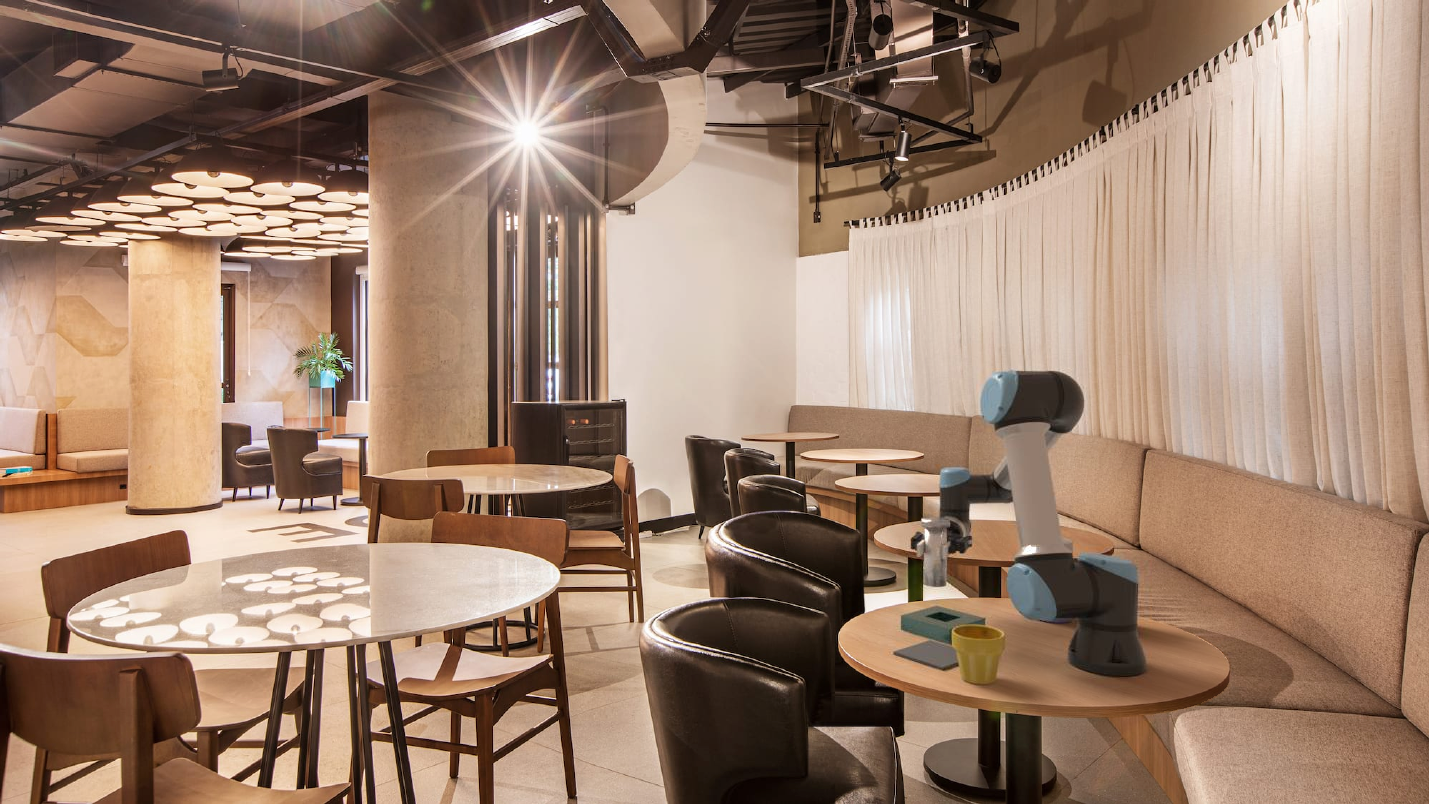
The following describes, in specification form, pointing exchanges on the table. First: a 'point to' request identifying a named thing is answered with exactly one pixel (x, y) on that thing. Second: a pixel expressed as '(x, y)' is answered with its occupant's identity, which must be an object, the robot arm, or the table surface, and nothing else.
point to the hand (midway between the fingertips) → (931, 551)
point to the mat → (930, 654)
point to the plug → (935, 550)
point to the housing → (937, 622)
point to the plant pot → (978, 652)
